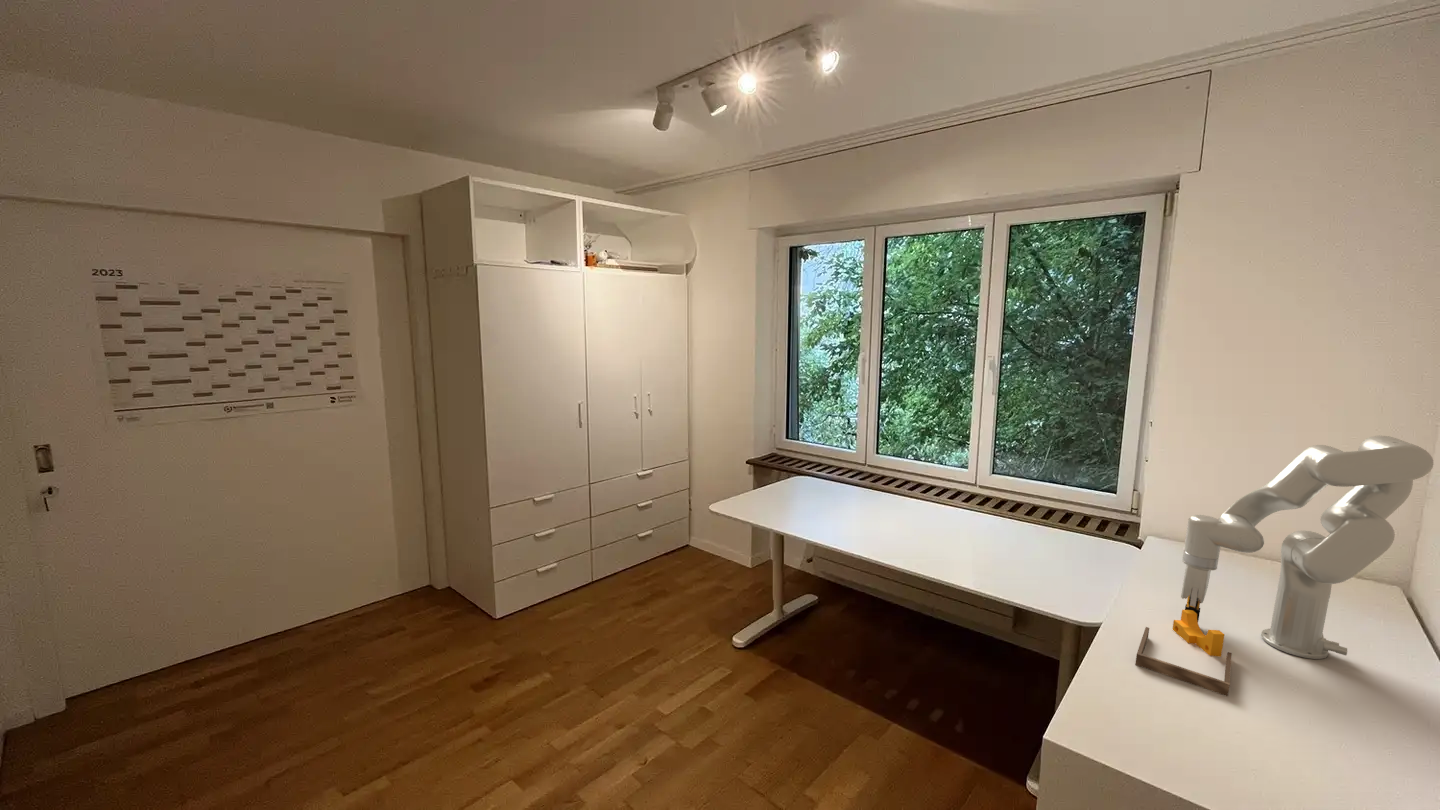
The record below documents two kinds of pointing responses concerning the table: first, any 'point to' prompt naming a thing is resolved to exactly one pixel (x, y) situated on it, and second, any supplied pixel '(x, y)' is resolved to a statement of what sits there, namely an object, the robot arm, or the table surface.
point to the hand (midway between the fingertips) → (1190, 619)
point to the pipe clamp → (1198, 634)
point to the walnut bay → (1184, 670)
